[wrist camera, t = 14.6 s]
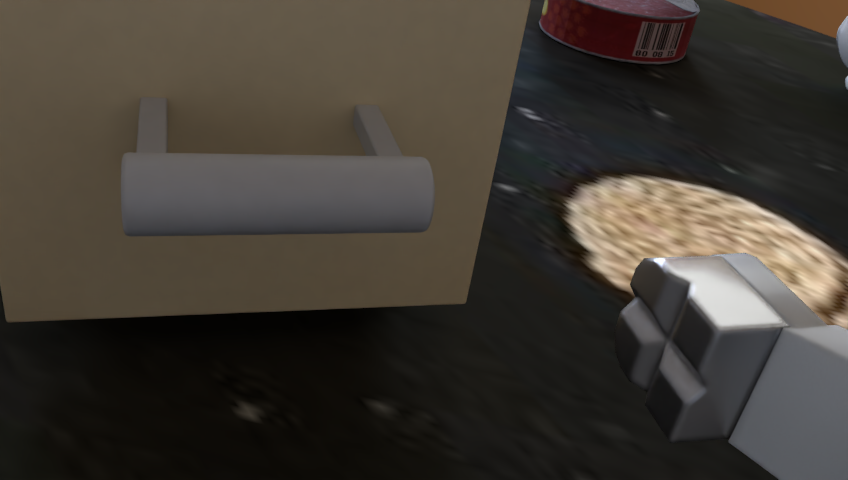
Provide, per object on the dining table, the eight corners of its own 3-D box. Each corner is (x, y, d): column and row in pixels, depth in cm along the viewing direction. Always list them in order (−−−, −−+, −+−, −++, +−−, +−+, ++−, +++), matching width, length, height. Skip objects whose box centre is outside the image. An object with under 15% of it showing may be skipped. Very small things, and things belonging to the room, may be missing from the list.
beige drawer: (521, 419, 21) (628, 44, 16) (-32, 466, 17) (-132, -3, 12) (370, 106, 36) (399, -134, 31) (64, 96, 33) (38, -177, 27)
